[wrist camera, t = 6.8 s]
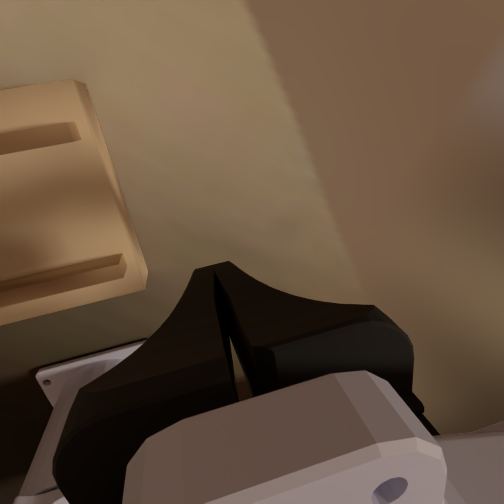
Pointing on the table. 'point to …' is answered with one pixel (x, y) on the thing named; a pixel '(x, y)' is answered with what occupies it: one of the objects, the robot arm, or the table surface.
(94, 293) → the channel board
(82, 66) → the table surface
